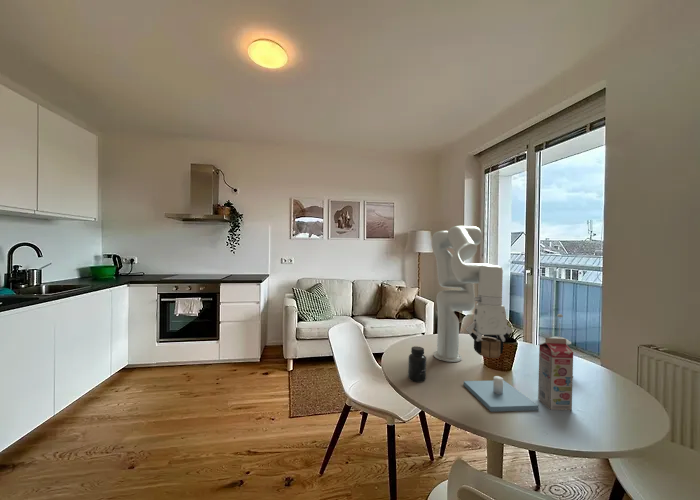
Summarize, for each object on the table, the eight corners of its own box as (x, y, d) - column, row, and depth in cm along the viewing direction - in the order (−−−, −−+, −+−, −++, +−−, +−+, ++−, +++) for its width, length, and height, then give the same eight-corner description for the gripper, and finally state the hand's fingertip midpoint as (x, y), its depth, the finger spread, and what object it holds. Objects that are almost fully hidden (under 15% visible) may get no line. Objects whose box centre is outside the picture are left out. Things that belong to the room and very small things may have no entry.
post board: (463, 385, 110) (463, 367, 110) (503, 384, 112) (504, 367, 112) (490, 411, 93) (491, 390, 93) (538, 410, 94) (538, 389, 94)
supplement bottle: (426, 383, 111) (427, 351, 111) (407, 381, 112) (408, 350, 112) (425, 376, 118) (426, 346, 118) (408, 374, 119) (408, 344, 119)
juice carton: (538, 399, 101) (539, 335, 101) (557, 399, 101) (559, 335, 101) (550, 409, 95) (552, 341, 94) (571, 410, 94) (573, 341, 94)
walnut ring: (473, 350, 105) (474, 336, 105) (492, 350, 106) (492, 336, 106) (483, 357, 98) (484, 342, 98) (503, 357, 99) (504, 342, 99)
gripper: (470, 302, 98) (469, 355, 98) (520, 303, 99) (519, 355, 99) (460, 298, 105) (459, 348, 105) (507, 299, 106) (506, 348, 106)
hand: (488, 351), depth 102 cm, fingers closed on walnut ring, 7 cm apart
